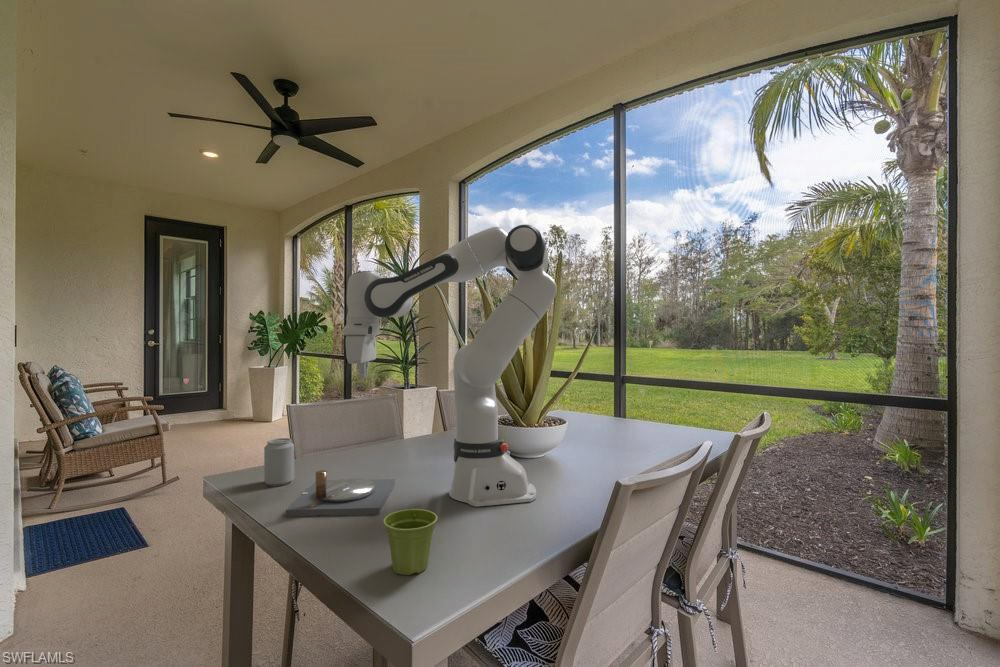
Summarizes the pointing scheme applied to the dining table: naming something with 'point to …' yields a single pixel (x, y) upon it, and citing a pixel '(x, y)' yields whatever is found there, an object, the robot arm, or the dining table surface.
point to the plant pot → (410, 539)
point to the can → (278, 462)
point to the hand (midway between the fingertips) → (362, 378)
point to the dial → (341, 488)
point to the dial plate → (363, 506)
